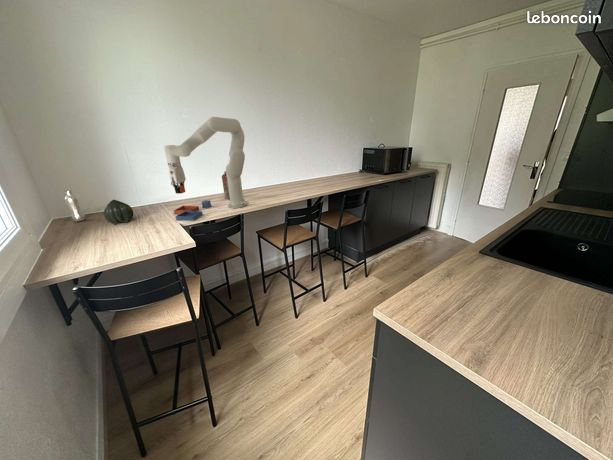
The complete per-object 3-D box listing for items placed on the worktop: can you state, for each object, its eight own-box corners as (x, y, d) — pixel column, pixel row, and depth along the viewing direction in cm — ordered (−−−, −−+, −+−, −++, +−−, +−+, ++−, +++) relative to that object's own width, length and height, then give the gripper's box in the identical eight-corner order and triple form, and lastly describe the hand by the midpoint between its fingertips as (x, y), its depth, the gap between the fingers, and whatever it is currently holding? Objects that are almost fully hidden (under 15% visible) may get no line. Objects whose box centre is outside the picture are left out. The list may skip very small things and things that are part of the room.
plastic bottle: (89, 219, 165) (77, 189, 157) (77, 223, 159) (65, 192, 151) (82, 218, 167) (71, 189, 159) (70, 222, 161) (58, 191, 153)
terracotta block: (185, 191, 172) (184, 185, 171) (181, 193, 168) (180, 186, 167) (179, 191, 173) (178, 185, 171) (175, 193, 169) (174, 186, 167)
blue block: (211, 206, 189) (210, 200, 187) (208, 207, 185) (207, 202, 183) (205, 206, 190) (204, 200, 188) (202, 207, 186) (201, 201, 184)
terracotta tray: (199, 209, 182) (198, 206, 181) (190, 214, 172) (189, 210, 171) (183, 208, 184) (182, 205, 183) (174, 213, 174) (173, 210, 173)
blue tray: (202, 214, 171) (202, 211, 170) (193, 220, 160) (193, 217, 159) (186, 214, 172) (185, 210, 171) (176, 220, 162) (175, 216, 161)
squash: (123, 218, 150) (125, 195, 155) (96, 220, 148) (99, 198, 153) (136, 226, 164) (138, 205, 168) (112, 228, 162) (114, 207, 166)
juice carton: (231, 196, 213) (227, 170, 205) (236, 197, 210) (233, 171, 201) (224, 198, 208) (220, 171, 200) (230, 199, 205) (226, 172, 196)
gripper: (172, 167, 155) (178, 195, 162) (187, 163, 171) (192, 189, 178) (160, 167, 156) (167, 195, 163) (177, 163, 172) (182, 189, 179)
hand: (180, 192), depth 171 cm, fingers closed on terracotta block, 4 cm apart
